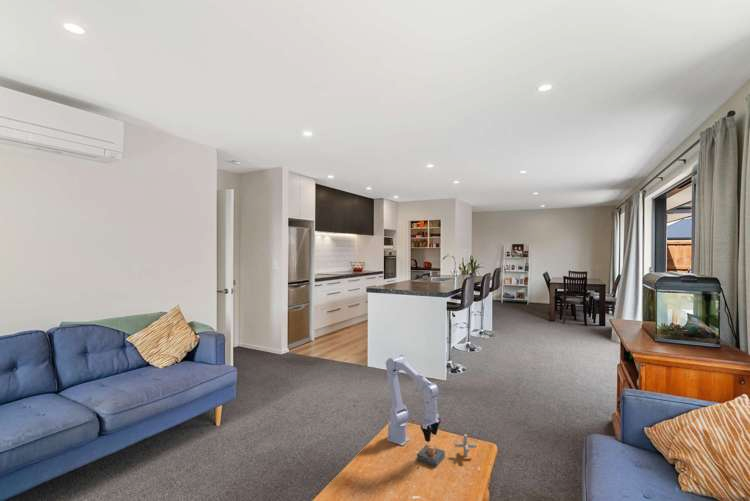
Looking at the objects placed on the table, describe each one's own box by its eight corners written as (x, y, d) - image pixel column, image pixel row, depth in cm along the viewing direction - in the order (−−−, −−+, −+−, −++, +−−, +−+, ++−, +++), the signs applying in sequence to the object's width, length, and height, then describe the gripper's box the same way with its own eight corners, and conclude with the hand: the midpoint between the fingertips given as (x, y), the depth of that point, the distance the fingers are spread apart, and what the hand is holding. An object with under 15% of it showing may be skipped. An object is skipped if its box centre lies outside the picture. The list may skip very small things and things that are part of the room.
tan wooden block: (427, 459, 171) (427, 447, 171) (430, 456, 173) (430, 444, 173) (433, 461, 169) (433, 448, 169) (435, 458, 172) (435, 446, 172)
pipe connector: (474, 450, 178) (474, 430, 179) (477, 462, 169) (477, 441, 169) (453, 449, 179) (453, 429, 180) (456, 460, 170) (456, 439, 170)
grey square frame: (417, 460, 170) (417, 454, 170) (426, 450, 178) (426, 444, 178) (436, 467, 164) (436, 460, 164) (444, 457, 173) (444, 450, 173)
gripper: (432, 417, 164) (432, 446, 164) (444, 406, 176) (444, 433, 176) (418, 413, 168) (418, 442, 168) (431, 402, 180) (431, 429, 180)
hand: (430, 437), depth 172 cm, fingers open, 7 cm apart
